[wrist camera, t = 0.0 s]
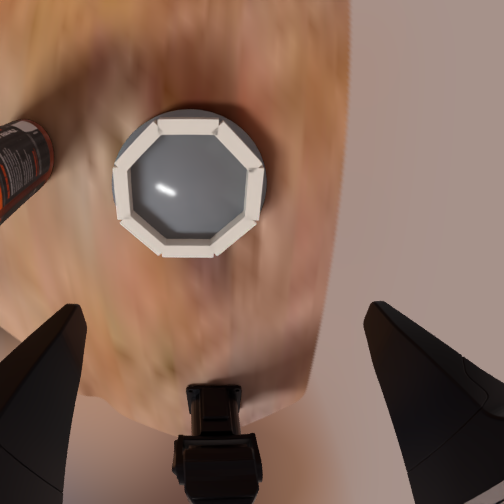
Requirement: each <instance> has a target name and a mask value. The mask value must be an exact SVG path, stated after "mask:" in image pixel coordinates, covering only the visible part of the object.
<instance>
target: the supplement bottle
mask: <svg viewBox="0 0 504 504" xmlns="http://www.w3.org/2000/svg"><path fill="white" fill-rule="evenodd" d="M53 164H54V152H53V147H52V143H51V140H50V138H49V136H48V134H47V132H46V131H45V130H44V129H43V128H42V127H41V126H40V125H39V124H37V123H35V122H34V121H31V120H26V119H22V120H17V121H12V122H10V123H8V124H5V125H3V126H0V225H1V224H2V223H3V222H4V221H5V220H6V219H7V218H9V217H10V216H11V215H12V214H13V213H14V212H15V211H16V210H17V209H18V208H19V207H20V206H21V205H22V204H24V203H25V202H26V201H27V200H28V199H29V198H30V197H31V196H33V195H34V194H35V193H36V192H37V191H38V190H39V189H40V188H41V187H42V186H43V185H44V184H45V183H46V182H47V180H48V178H49V177H50V174H51V172H52V169H53Z"/></svg>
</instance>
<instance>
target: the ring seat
mask: <svg viewBox="0 0 504 504" xmlns="http://www.w3.org/2000/svg"><path fill="white" fill-rule="evenodd" d="M266 186H267V179H266V170H265V166H264V162H263V159H262V157H261V154H260V152H259V150H258V149H257V147H256V145H255V143H254V142H253V140H252V139H251V138H250V137H249V135H248V134H247V133H246V132H245V131H244V130H243V129H242V128H241V127H240V126H238V125H237V124H235V123H234V122H233V121H231V120H229V119H228V118H226V117H224V116H222V115H219V114H216V113H214V112H210V111H206V110H200V109H179V110H174V111H169V112H166V113H163V114H161V115H158V116H156V117H154V118H152V119H150V120H148V121H147V122H146V123H144V124H143V125H141V126H140V127H139V128H138V129H137V130H135V131H134V132H133V133H132V134H131V135H130V137H129V138H128V139H127V140H126V142H125V143H124V144H123V146H122V148H121V150H120V151H119V153H118V156H117V158H116V161H115V163H114V167H113V174H112V192H113V198H114V202H115V205H116V210H117V219H118V220H121V222H120V224H121V225H122V226H123V227H125V228H126V229H127V230H128V231H129V232H130V233H132V234H133V235H134V236H135V237H136V238H138V239H139V240H140V241H141V242H142V243H144V244H145V245H146V246H147V247H148V248H150V249H151V250H152V251H153V252H154V253H156V254H157V255H158V256H159V255H160V254H161V253H162V257H205V258H213V253H214V254H215V255H217V256H218V255H219V254H221V253H222V252H223V251H224V250H226V249H227V248H228V247H229V246H230V245H232V244H233V243H234V242H235V241H237V240H238V239H239V238H240V237H242V236H243V235H244V234H245V233H246V232H248V231H249V230H250V229H251V228H253V227H254V226H255V225H256V224H257V223H256V220H259V214H260V211H261V209H262V206H263V203H264V200H265V195H266Z"/></svg>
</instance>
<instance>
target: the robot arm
mask: <svg viewBox="0 0 504 504" xmlns="http://www.w3.org/2000/svg"><path fill="white" fill-rule="evenodd" d="M363 325H364V330H365V334H366V338H367V342H368V346H369V350H370V354H371V359H372V362H373V366H374V369H375V372H376V375H377V378H378V381H379V383H380V386H381V389H382V392H383V395H384V398H385V401H386V404H387V407H388V410H389V413H390V416H391V420H392V423H393V426H394V429H395V432H396V436H397V439H398V442H399V446H400V449H401V452H402V456H403V459H404V463H405V466H406V470H407V472H408V473H407V474H408V478H409V481H410V485H411V489H412V493H413V497H414V501H415V504H504V383H503V382H501V381H499V380H498V379H496V378H494V377H493V376H491V375H490V374H488V373H486V372H485V371H483V370H482V369H480V368H479V367H477V366H476V365H475V364H473V363H472V362H470V361H469V360H468V359H466V358H465V357H462V355H461V354H459V353H458V352H456V351H455V350H454V349H452V348H451V347H449V346H448V345H446V344H445V343H444V342H442V341H441V340H439V339H438V338H436V337H435V336H434V335H432V334H431V333H429V332H428V331H427V330H425V329H424V328H422V327H421V326H419V325H418V324H416V323H415V322H413V321H412V320H410V319H409V318H408V317H406V316H405V315H403V314H402V313H400V312H399V311H397V310H396V309H395V308H393V307H392V306H390V305H389V304H387V303H386V302H384V301H374V302H372V303H371V304H370V306H369V309H368V311H367V314H366V316H365V319H364V324H363ZM86 334H87V325H86V321H85V318H84V315H83V312H82V309H81V307H80V305H78V304H66V305H65V306H63V307H62V308H61V309H60V310H59V311H57V312H56V313H55V314H54V315H53V316H52V317H50V318H49V319H48V320H47V321H46V322H45V323H43V324H42V325H41V326H40V327H39V328H38V329H37V330H35V331H34V332H33V333H32V334H31V335H30V336H29V337H27V338H26V339H25V340H24V341H23V342H22V343H21V344H20V345H19V346H18V347H16V349H14V350H13V351H12V352H11V353H10V354H9V355H8V356H7V357H6V358H4V359H3V360H2V361H1V362H0V504H62V502H63V493H62V492H63V486H64V475H65V466H66V458H67V449H68V443H69V436H70V430H71V423H72V417H73V412H74V407H75V401H76V396H77V391H78V387H79V382H80V377H81V371H82V363H83V355H84V347H85V340H86ZM241 391H242V390H241V386H189V387H187V388H186V393H187V400H188V407H189V413H190V414H191V429H192V436H183V435H178V440H175V441H174V458H173V464H172V472H173V473H174V474H175V475H176V476H177V479H178V480H179V484H180V485H184V486H185V487H184V488H185V493H186V496H187V498H188V501H189V503H190V504H253V503H254V501H255V499H256V496H257V493H258V491H259V485H258V483H259V482H262V478H263V477H262V476H263V474H262V463H261V458H260V453H259V449H258V445H257V441H256V437H255V433H250V434H241V431H240V422H239V414H238V413H239V409H240V400H241Z"/></svg>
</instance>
